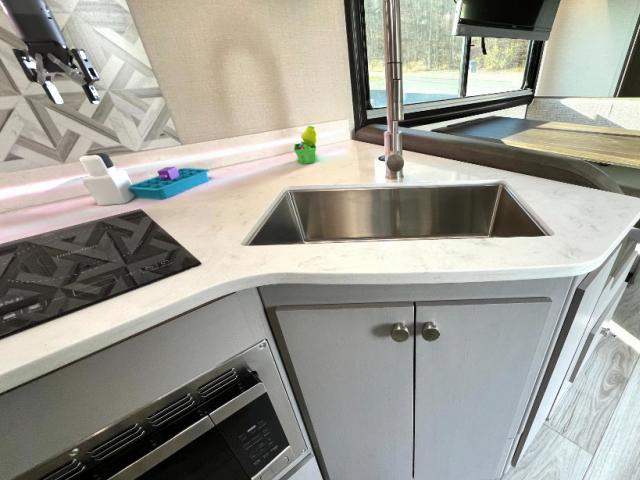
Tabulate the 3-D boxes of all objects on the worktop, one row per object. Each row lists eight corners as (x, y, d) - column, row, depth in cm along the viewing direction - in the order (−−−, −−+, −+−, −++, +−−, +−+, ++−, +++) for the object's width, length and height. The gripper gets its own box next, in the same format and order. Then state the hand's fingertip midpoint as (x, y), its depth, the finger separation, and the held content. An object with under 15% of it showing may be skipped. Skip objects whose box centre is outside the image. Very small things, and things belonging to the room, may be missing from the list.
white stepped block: (112, 197, 90) (85, 152, 83) (139, 195, 91) (114, 150, 84) (97, 206, 85) (67, 158, 77) (126, 203, 86) (99, 156, 78)
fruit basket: (297, 158, 121) (289, 125, 114) (320, 156, 122) (314, 123, 115) (297, 165, 112) (289, 130, 105) (322, 163, 114) (316, 128, 107)
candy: (158, 181, 91) (154, 172, 89) (172, 174, 96) (168, 166, 95) (169, 181, 91) (165, 172, 89) (181, 174, 96) (178, 165, 95)
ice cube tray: (214, 179, 102) (211, 169, 100) (162, 201, 86) (157, 190, 85) (185, 177, 104) (181, 167, 102) (130, 198, 89) (124, 187, 87)
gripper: (-25, 11, 63) (33, 105, 73) (48, 11, 63) (96, 105, 73) (11, 15, 69) (60, 102, 79) (77, 15, 69) (118, 101, 79)
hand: (77, 103), depth 76 cm, fingers open, 8 cm apart
